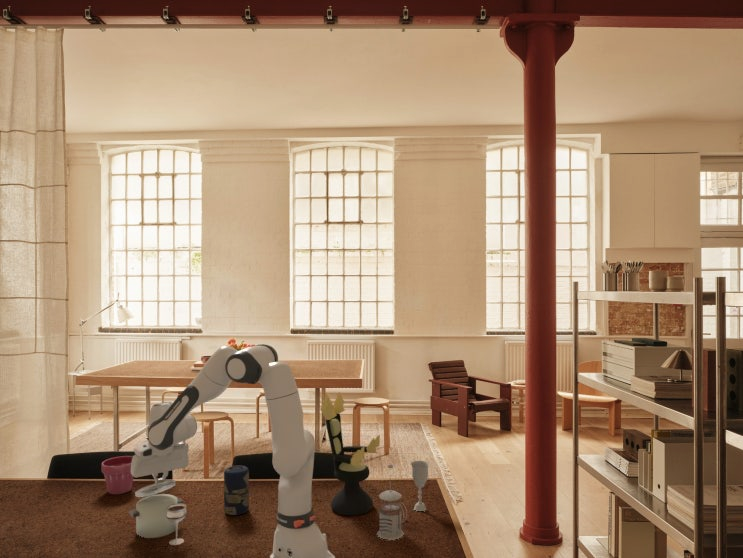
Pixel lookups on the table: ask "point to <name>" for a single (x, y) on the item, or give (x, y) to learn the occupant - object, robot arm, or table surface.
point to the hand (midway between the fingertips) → (159, 483)
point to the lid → (155, 488)
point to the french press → (395, 529)
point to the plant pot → (118, 474)
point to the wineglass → (176, 518)
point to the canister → (236, 490)
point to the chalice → (420, 480)
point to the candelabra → (347, 463)
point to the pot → (154, 515)
